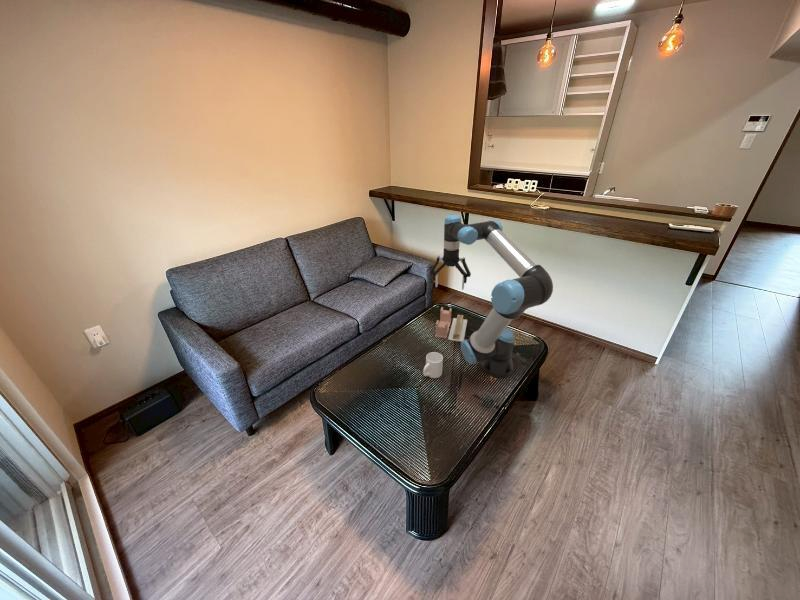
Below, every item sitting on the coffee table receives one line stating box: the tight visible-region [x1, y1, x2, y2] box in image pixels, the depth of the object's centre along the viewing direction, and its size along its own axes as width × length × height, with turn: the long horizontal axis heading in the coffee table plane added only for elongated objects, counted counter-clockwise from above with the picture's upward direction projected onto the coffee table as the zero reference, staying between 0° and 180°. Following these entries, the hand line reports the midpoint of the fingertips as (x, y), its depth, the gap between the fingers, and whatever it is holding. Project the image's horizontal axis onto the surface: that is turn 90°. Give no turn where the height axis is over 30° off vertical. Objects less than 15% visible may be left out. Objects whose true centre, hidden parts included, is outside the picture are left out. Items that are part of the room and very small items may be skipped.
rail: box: [453, 314, 464, 340], centre depth 186 cm, size 4×22×4 cm, turn 164°
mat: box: [447, 317, 468, 343], centre depth 187 cm, size 9×24×1 cm, turn 164°
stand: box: [434, 306, 453, 339], centre depth 188 cm, size 7×21×9 cm, turn 164°
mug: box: [422, 351, 444, 379], centre depth 151 cm, size 12×8×10 cm
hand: (449, 287), depth 158 cm, fingers open, 13 cm apart
